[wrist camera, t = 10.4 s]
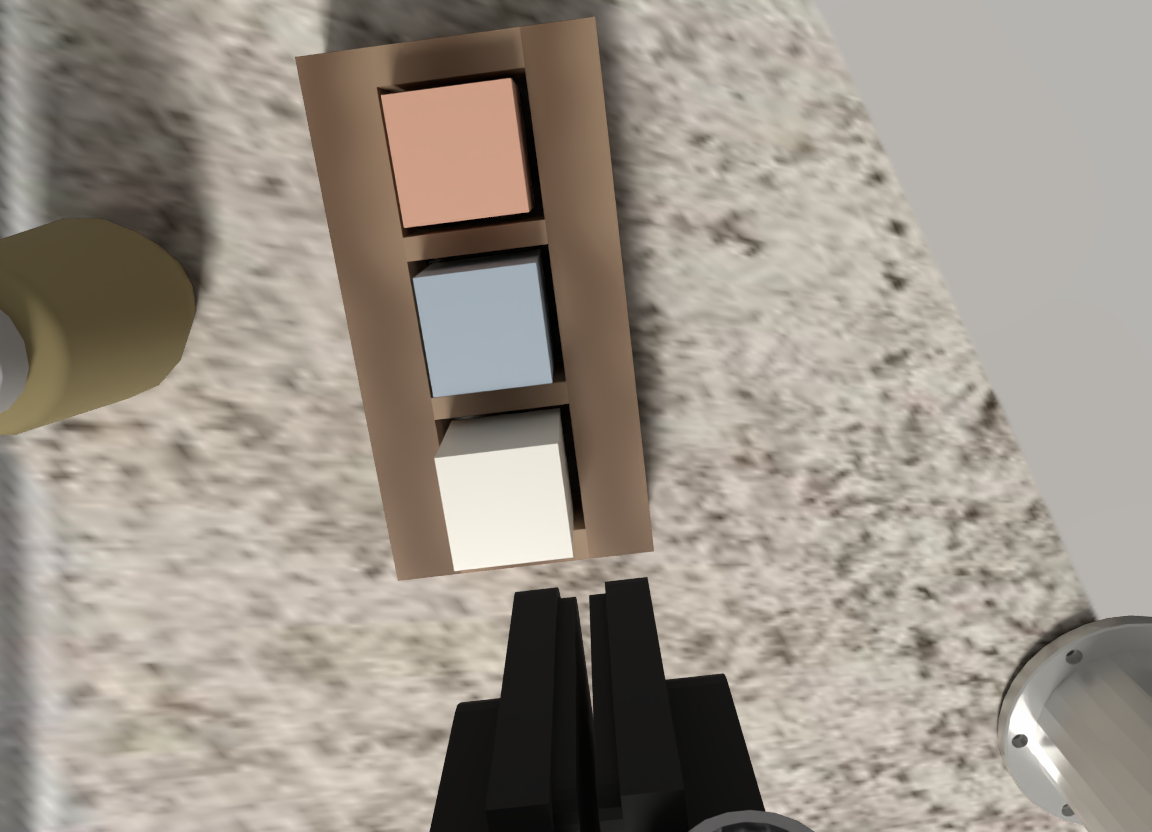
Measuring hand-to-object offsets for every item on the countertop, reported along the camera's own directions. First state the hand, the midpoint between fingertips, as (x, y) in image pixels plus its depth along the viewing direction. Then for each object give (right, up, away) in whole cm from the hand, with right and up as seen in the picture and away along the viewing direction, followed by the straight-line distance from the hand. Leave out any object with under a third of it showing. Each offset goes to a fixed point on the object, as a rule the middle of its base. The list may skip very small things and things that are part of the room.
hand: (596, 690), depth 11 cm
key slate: (-4, +8, +31) cm, 32 cm away
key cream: (-3, +1, +31) cm, 31 cm away
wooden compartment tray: (-4, +9, +32) cm, 33 cm away
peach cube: (-5, +15, +29) cm, 33 cm away
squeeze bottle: (-21, +9, +32) cm, 39 cm away
